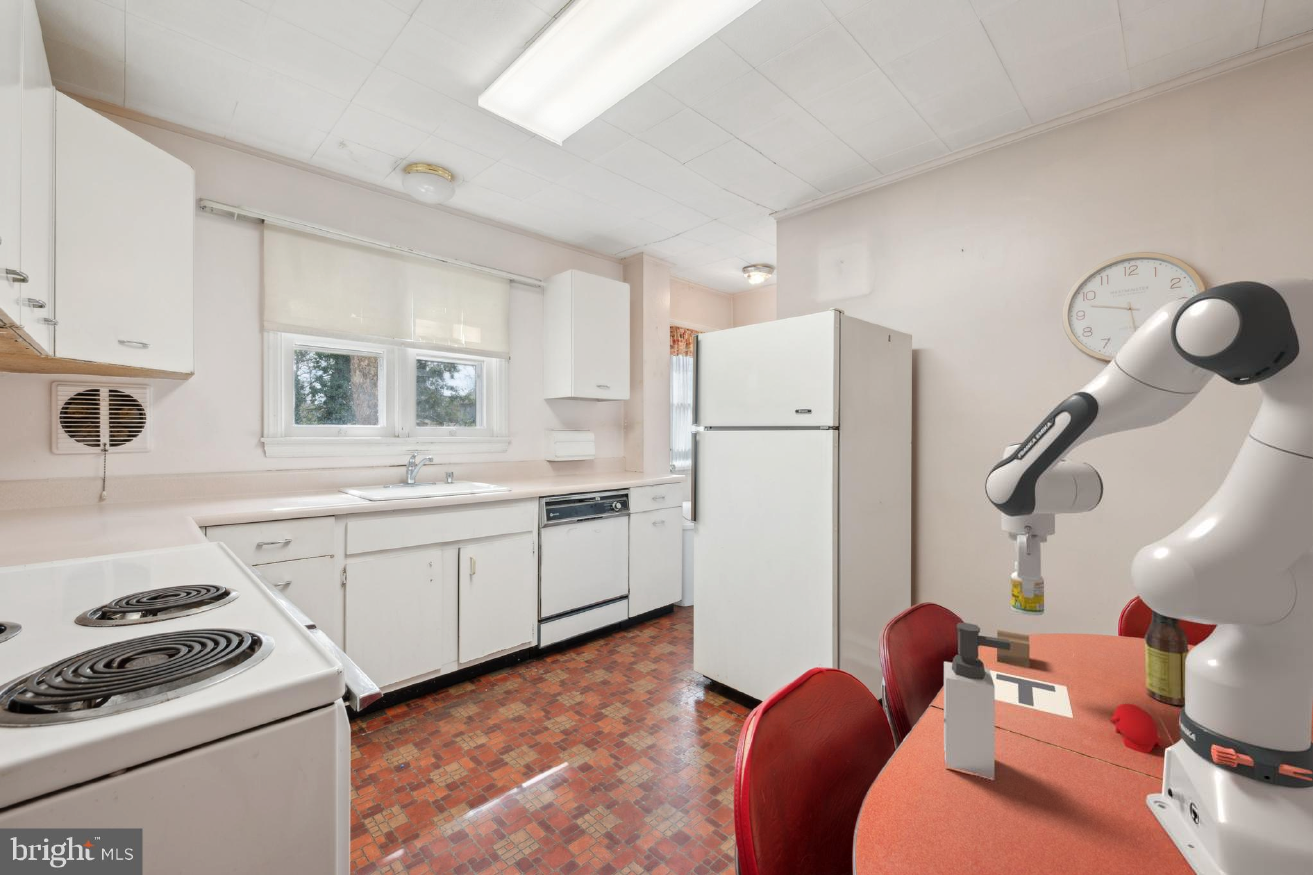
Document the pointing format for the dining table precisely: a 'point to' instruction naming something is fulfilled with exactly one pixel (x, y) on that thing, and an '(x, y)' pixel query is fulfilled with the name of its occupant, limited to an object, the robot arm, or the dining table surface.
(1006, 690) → the letter tile
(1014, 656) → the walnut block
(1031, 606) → the supplement bottle
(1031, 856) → the dining table surface
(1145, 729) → the red rounded lump
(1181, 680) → the sauce bottle
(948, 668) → the soap dispenser
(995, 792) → the dining table surface
